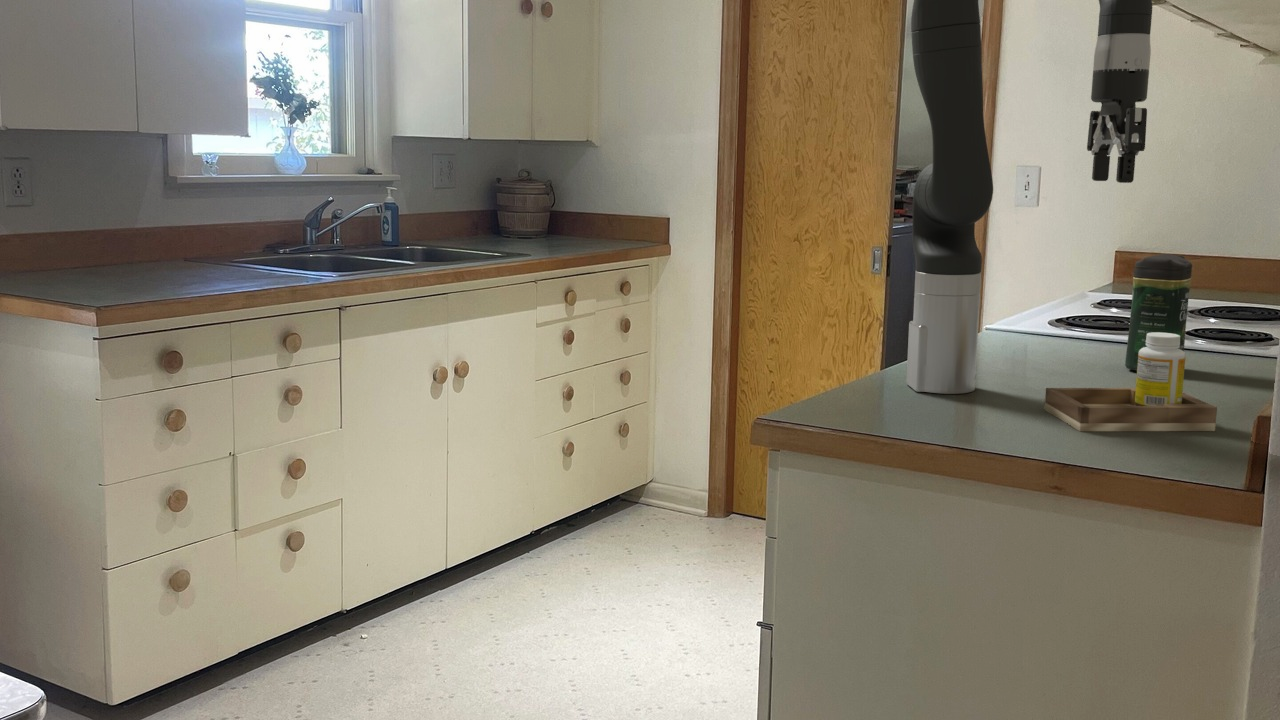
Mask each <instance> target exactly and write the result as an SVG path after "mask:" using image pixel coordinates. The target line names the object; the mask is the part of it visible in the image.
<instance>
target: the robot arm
mask: <svg viewBox="0 0 1280 720" xmlns="http://www.w3.org/2000/svg"><path fill="white" fill-rule="evenodd" d="M1098 2H1099V3H1098V4H1099V13H1098V14H1099V15H1098V26H1097V27H1098V28H1097V39H1096V44H1095V49H1094V54H1093V67H1092V79H1091V80H1092V81H1091V95H1090V99H1091V101H1092V102H1093V103H1100V104H1101V107H1100V110H1092V111H1090V114H1089V124H1088V133H1087V143H1086V150H1087V152H1091V153H1090V154H1091V155H1092V156H1093V159H1092V160H1093V161H1092V175H1091V179H1092V181H1094V182H1106V181H1108V180H1109V174H1110V162H1111V161H1110V160H1111V156H1110V155H1111V152H1112V149H1113V148H1114V145H1116V149H1117V153H1118V157H1117V164H1116V165H1117V167H1116V176H1115V177H1116V178H1115V180H1116V182H1117V183H1119V184H1121V183H1123V184H1126V183H1127V184H1130V183H1133V181H1134V179H1135V167H1136V166H1135V165H1136V157H1137V156H1138V155H1139V152H1144V151H1145V149H1146V138H1147V137H1146V136H1147V135H1146V134H1147V121H1148V120H1147V118H1148V117H1147V116H1148V108H1147V107H1137V105H1136V103H1143V102H1145V101H1146V100H1147V99H1148V98H1147V97H1148V89H1149V88H1148V87H1149V79H1150V78H1149V77H1150V76H1149V75H1150V65H1151V64H1150V63H1151V55H1152V52H1151V51H1152V50H1151V30H1152V20H1153V19H1152V17H1153V16H1152V15H1153V0H1098ZM911 10H912V11H911V19H910V20H911V21H910V26H911V27H910V29H911V30H910V32H911V48H912V61H913V67H914V72H915V77H916V81H917V85H918V87H919V91H920V93H921V97H922V99H923V102H924V103H923V104H924V105H925V107H926V111H927V114H928V118H929V122H930V127H931V137H932V162H930V164H928V165H926V166H925V167H924V168H923V169H922V170H921V171H920V173H919V175H918V177H917V179H916V181H915V185H914V189H913V190H914V191H913V197H912V230H911V231H912V234H911V235H912V237H911V239H912V249H913V254H914V258H915V275H914V277H915V278H914V292H913V293H914V294H913V296H914V297H913V315H912V316H913V319H912V320H910V321H909V323H908V341H907V342H908V344H907V361H906V362H907V364H906V365H907V366H906V382H905V383H906V384H907V385H908V386H909V387H910V388H911V389H912V390H914V392H917V393H918V392H919V393H922V392H923V393H924V392H926V393H932V394H933V393H934V394H946V395H947V394H948V395H949V394H950V395H951V394H953V395H955V394H966V393H972V392H974V391H975V389H976V388H975V387H976V378H977V373H976V372H977V355H978V339H979V338H978V337H979V319H980V305H981V303H980V301H981V286H982V284H981V283H982V268H983V265H982V264H983V258H982V257H983V256H982V252H981V251H980V249H979V247H978V244H977V241H976V235H975V229H976V227H975V223H978V221H980V220H981V219H982V218H983V217H984V216H985V215H986V214H987V212H988V210H989V209H990V207H991V203H992V201H993V195H994V182H993V173H992V168H991V163H990V162H991V161H990V157H989V156H990V155H989V150H988V143H987V137H986V129H985V121H984V83H983V67H982V66H983V61H982V58H983V56H982V53H983V52H982V50H983V49H982V48H983V47H982V34H981V33H982V32H981V29H982V28H981V16H980V5H979V0H913V4H912V9H911Z"/></svg>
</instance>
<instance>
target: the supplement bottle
mask: <svg viewBox="0 0 1280 720" xmlns="http://www.w3.org/2000/svg"><path fill="white" fill-rule="evenodd" d="M1146 346H1147V347H1144V348H1141V349H1140V350H1139V354H1138V366H1137V371H1136V382H1135V383H1136V384H1135V388H1136V393H1135V406H1162V404H1182V393H1184V392H1183V390H1184V377H1185V365H1186V353H1185V350H1184V351H1182V350H1180V349H1178V348H1179V347H1180V335H1177V334H1172V333H1161V332H1152V333H1147V336H1146Z"/></svg>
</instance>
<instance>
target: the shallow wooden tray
mask: <svg viewBox="0 0 1280 720" xmlns="http://www.w3.org/2000/svg"><path fill="white" fill-rule="evenodd" d="M1135 393H1136V387H1046V388H1045V399H1044V410H1045V411H1046V412H1048V413H1049V412H1050V413H1049V414H1051V415H1052V414H1053V415H1052V416H1054V417H1056V418H1057V417H1058V418H1057V419H1059V420H1060V421H1062V422H1064V423H1065V424H1067V423H1068V424H1067V425H1069V426H1070V425H1071V426H1070V427H1072V428H1074V429H1075V430H1077V431H1078V432H1215V431H1216V425H1217V423H1216V422H1217V414H1218V413H1217V412H1218V407H1217V406H1214V405H1213V404H1211V403H1208V402H1205V401H1204V400H1200V399H1199V398H1196V397H1193V396H1191V395H1189V394H1187V393H1185V392H1182V404H1162V406H1135Z"/></svg>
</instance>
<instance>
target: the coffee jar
mask: <svg viewBox="0 0 1280 720" xmlns="http://www.w3.org/2000/svg"><path fill="white" fill-rule="evenodd" d="M1192 270H1193V264H1192V262H1191V261H1190V260H1188V259H1187V258H1185V256H1183V255H1178V254H1170V253H1162V254H1156V255H1151V256H1146V257H1143V258H1142V259H1140V260H1137V261H1136V262H1135V263H1134V269H1133V274H1132V276H1133V277H1132V292H1131V293H1132V296H1131V306H1130V307H1131V308H1130V314H1129V315H1130V317H1129V325H1128V326H1129V327H1128V336H1127V342H1126V343H1127V344H1126V345H1127V346H1126V352H1125V353H1126V354H1125V361H1124V362H1125V364H1124V365H1125V368H1126V369H1127V370H1131V371H1136V372H1137V366H1138V354H1139V350H1140V349H1141V348H1144V347H1147V346H1146V336H1147V333H1152V332H1161V333H1172V334H1177V335H1180V347H1179V348H1178V349H1180V350H1182V351H1184V352H1185V341H1186V329H1187V319H1188V307H1189V299H1190V298H1189V297H1190V291H1191V282H1192V272H1193V271H1192Z"/></svg>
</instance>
